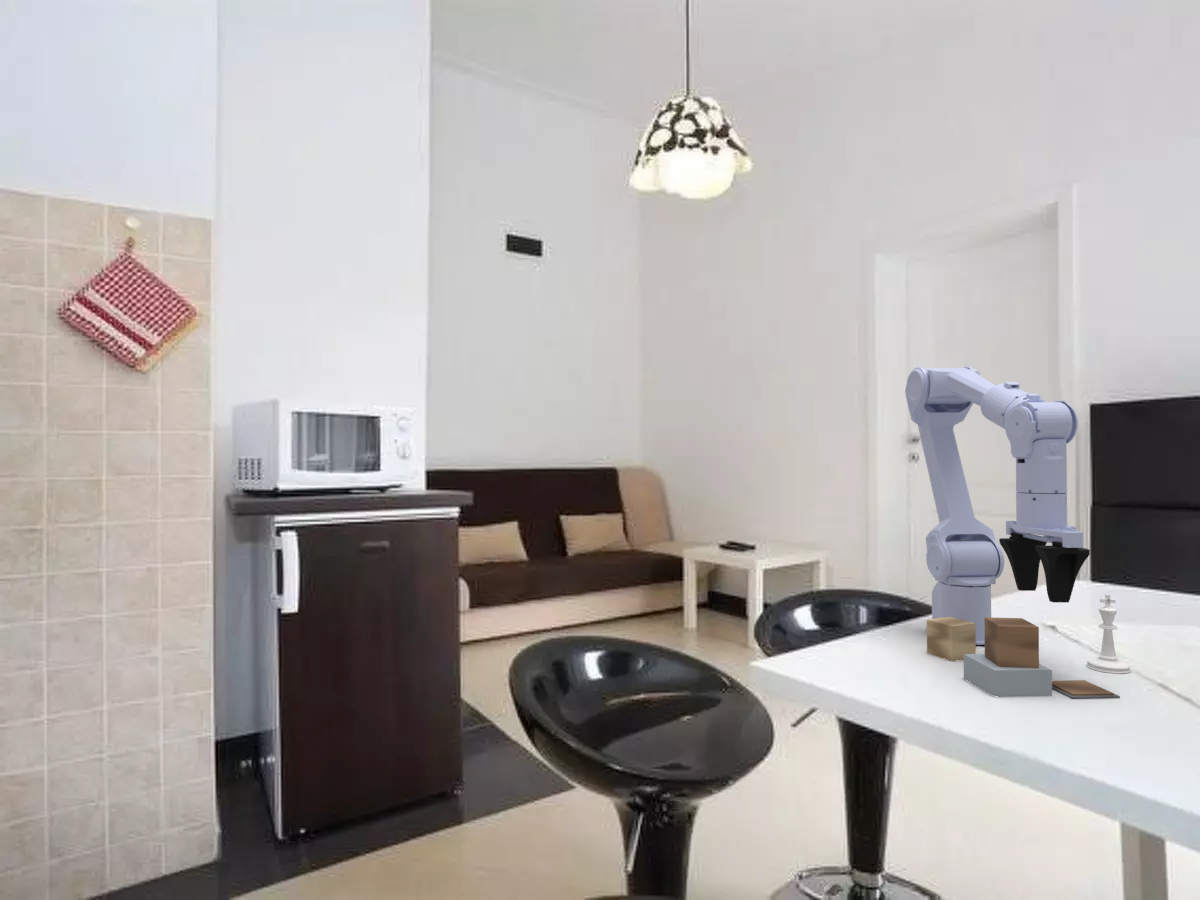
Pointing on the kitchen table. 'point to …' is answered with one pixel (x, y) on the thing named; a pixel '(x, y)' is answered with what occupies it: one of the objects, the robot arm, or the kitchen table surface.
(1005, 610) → the kitchen table surface
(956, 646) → the oak block
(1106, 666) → the chess piece
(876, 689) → the kitchen table surface
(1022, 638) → the walnut block
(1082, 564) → the robot arm
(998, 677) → the base block
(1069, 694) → the walnut swatch
